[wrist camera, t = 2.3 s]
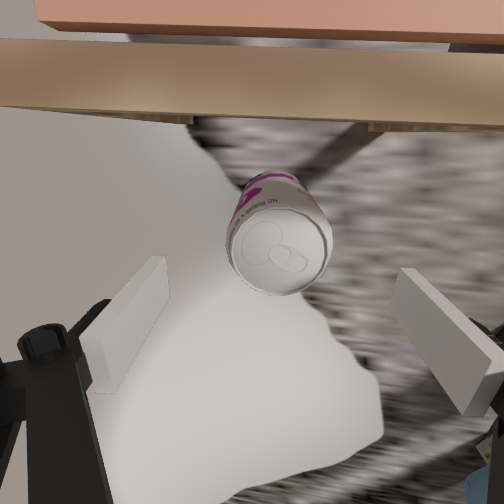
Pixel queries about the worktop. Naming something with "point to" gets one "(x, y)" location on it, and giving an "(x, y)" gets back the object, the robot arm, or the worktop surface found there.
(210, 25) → the trapdoor
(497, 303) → the worktop surface
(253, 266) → the supplement can
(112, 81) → the trapdoor frame
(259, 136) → the worktop surface
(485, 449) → the coffee box
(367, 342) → the worktop surface
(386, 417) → the worktop surface
